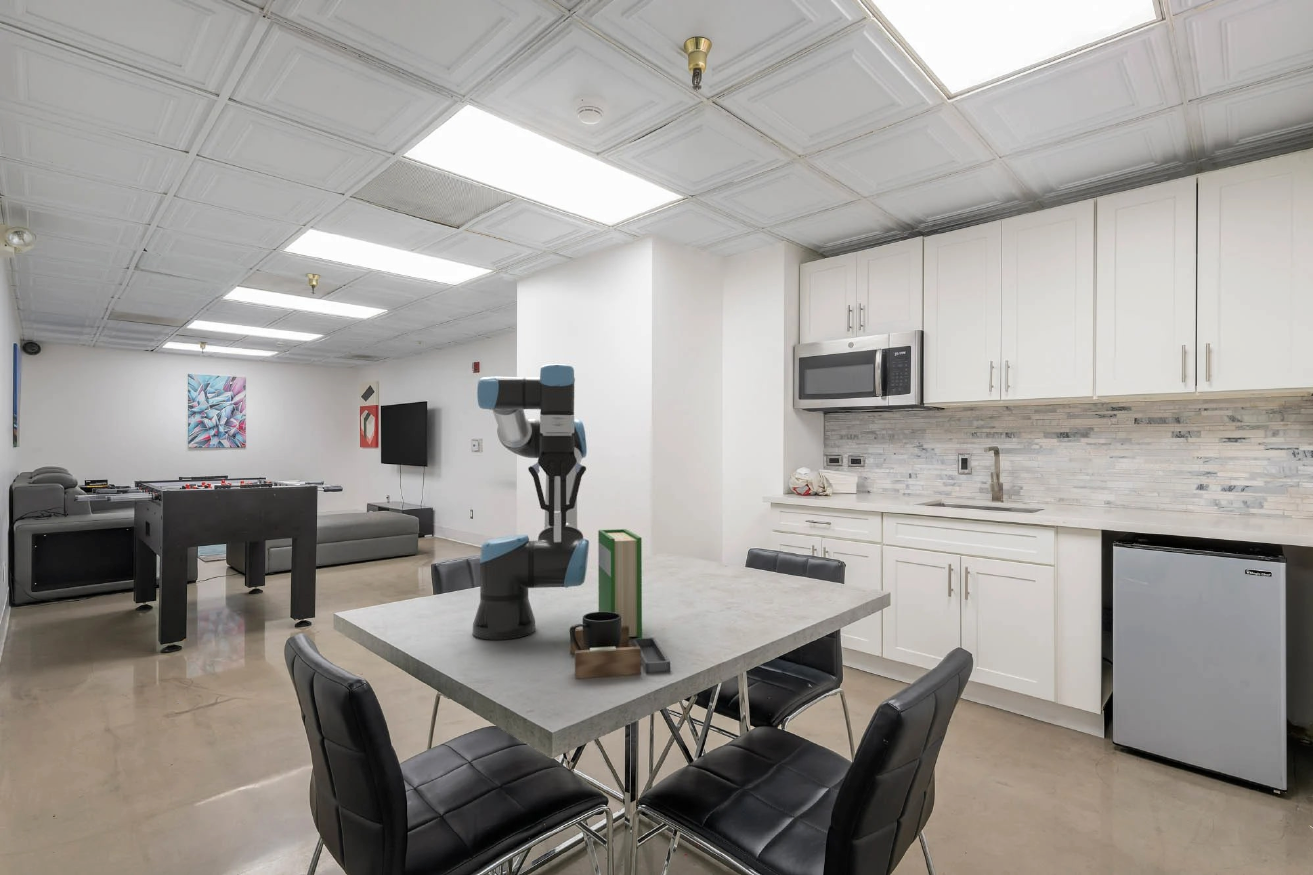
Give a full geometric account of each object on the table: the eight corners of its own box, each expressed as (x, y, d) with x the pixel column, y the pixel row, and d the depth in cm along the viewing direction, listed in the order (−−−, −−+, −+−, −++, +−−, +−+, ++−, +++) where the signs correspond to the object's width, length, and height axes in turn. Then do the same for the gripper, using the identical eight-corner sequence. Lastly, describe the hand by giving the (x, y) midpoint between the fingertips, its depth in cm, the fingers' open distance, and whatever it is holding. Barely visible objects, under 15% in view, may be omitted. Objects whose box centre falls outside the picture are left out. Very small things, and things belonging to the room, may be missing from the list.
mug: (559, 664, 130) (559, 618, 131) (606, 652, 138) (606, 609, 138) (581, 674, 124) (581, 626, 124) (629, 661, 132) (629, 616, 132)
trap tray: (645, 673, 125) (645, 663, 125) (632, 647, 141) (632, 638, 141) (670, 671, 126) (670, 661, 126) (654, 646, 142) (654, 637, 142)
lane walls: (575, 678, 122) (575, 651, 122) (570, 651, 139) (570, 627, 139) (641, 673, 124) (640, 647, 124) (628, 647, 141) (627, 624, 141)
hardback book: (641, 639, 148) (641, 537, 148) (611, 641, 146) (610, 538, 146) (626, 620, 165) (626, 529, 165) (598, 622, 163) (598, 530, 163)
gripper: (527, 434, 133) (527, 545, 133) (588, 434, 136) (588, 542, 136) (527, 434, 141) (527, 539, 141) (585, 434, 143) (585, 537, 143)
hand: (557, 540), depth 138 cm, fingers closed
